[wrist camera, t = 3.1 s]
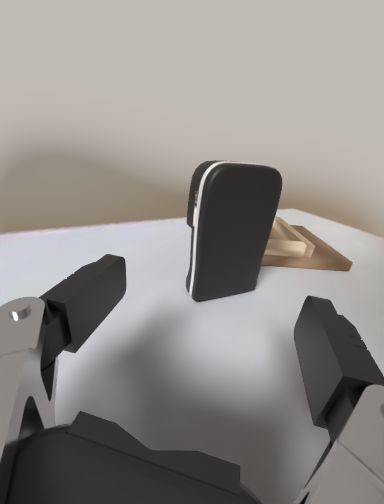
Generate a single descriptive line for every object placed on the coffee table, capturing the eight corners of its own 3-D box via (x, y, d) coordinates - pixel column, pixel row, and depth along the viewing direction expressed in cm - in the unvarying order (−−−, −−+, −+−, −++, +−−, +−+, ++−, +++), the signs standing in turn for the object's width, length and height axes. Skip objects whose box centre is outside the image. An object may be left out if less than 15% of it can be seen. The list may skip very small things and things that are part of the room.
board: (300, 232, 39) (305, 217, 38) (348, 271, 27) (358, 250, 26) (209, 225, 38) (211, 209, 37) (219, 262, 26) (223, 240, 25)
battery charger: (235, 271, 25) (258, 161, 20) (257, 291, 22) (291, 166, 17) (176, 281, 22) (185, 155, 17) (191, 305, 19) (209, 160, 14)
